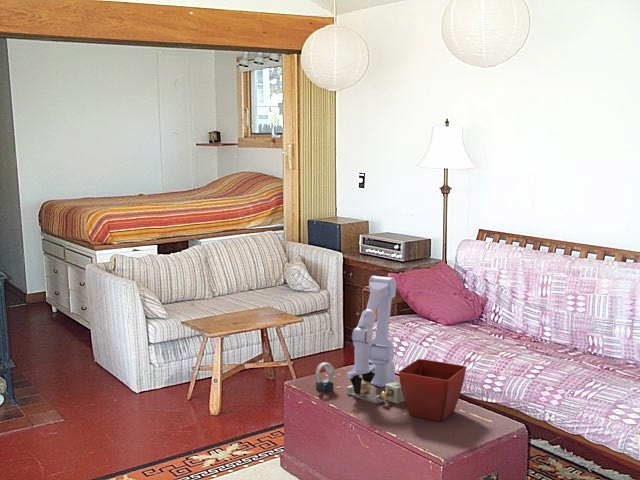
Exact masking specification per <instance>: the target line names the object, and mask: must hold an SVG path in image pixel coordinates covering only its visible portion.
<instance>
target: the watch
mask: <svg viewBox="0 0 640 480" xmlns="http://www.w3.org/2000/svg"><path fill="white" fill-rule="evenodd" d="M322 368H324V370H325V371H326V372H327V374H328V375H327V378H326V379H323V378H322V375H321V373H320V372H321V370H322ZM335 369H336V368H335V367H334V365H332V364H331V363H329V362H325V361H324V362H320V363H319V364H318V365H317V367H316V368H315V377H316V379H317V381H316V382H315V390H317V391H319V392H322V393H325V394H326V393H329V392H333V391H334V382H332V379H333V378H334V375H335Z"/></svg>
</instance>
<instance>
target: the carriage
mask: <svg viewBox="0 0 640 480" xmlns="http://www.w3.org/2000/svg"><path fill="white" fill-rule="evenodd" d="M365 392H366V393H369V394H371V384H370V382H367V381H364V380H363V379H362V382H361V387H360V394H356V393H355V392H354V388H353V393H354V394H356V395H359V396H362V397H363V396H365Z"/></svg>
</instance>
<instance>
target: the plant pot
mask: <svg viewBox="0 0 640 480" xmlns="http://www.w3.org/2000/svg"><path fill="white" fill-rule="evenodd" d="M466 369H467V366H466V365H461V364H455V363H449V362H442V361H437V360H429V359H425V358H418V359H415V361H413V362H412V363H410V364H408V365H407V366H404V368H402V369H400V370H398V377H399V382H400V384H401V389H402V393H403V397H404V400H405V401H404V403H405V406H406V410H407V412H408V414H409V416H412V417H413V416H414V417H416V418H417V417H418V418H422V419H427V420H430V421H437V422H443V421H444V420H445V419H447V418H448V417H449V416H450V415H452V414H453V413H454V412H455V409H456V407H457V404H458V401H459V399H460V395H461V392H462V388H463V386H464V385H463V384H464V381H465V375H466V372H467V370H466Z"/></svg>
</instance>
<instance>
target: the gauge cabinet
mask: <svg viewBox="0 0 640 480" xmlns="http://www.w3.org/2000/svg"><path fill="white" fill-rule="evenodd" d="M384 390H385V391H384V392H389V391H392V390H394V394H393V395H391V396H388V397H387V399H385V400H384V401H388V402H391V403H395V404H397V405H398V404H400V403H403V402H405V400H404V397H403V393H402V389H401V384H400V381H397V380H396V381H394V382H391V383H388V384H385V386H384Z"/></svg>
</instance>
